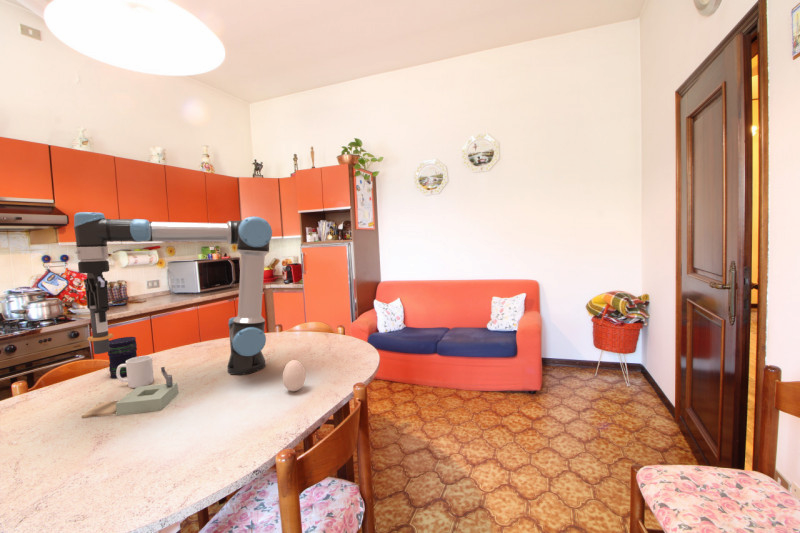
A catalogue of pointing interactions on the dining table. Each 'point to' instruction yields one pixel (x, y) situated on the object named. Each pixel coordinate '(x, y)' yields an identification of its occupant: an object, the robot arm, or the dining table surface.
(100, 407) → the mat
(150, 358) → the cup
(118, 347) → the storage jar
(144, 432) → the dining table surface
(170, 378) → the clip
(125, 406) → the socket block
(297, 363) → the egg
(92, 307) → the plug
